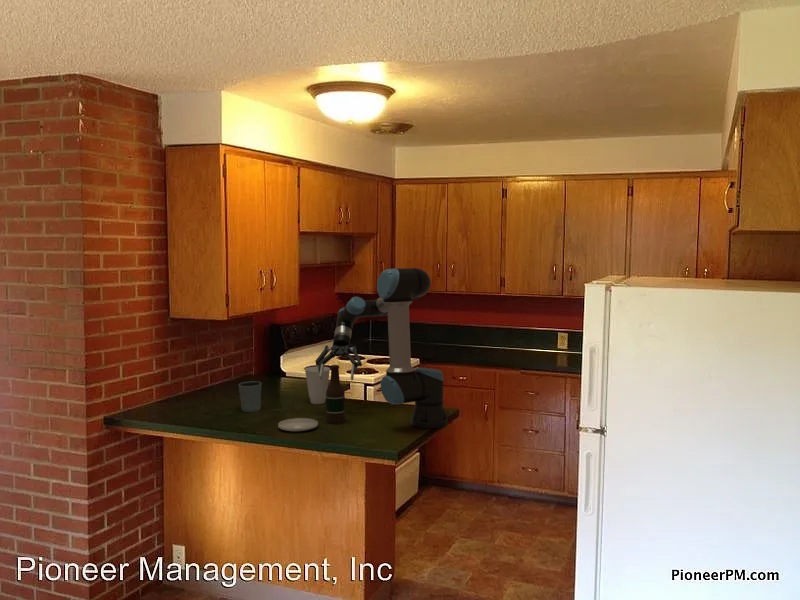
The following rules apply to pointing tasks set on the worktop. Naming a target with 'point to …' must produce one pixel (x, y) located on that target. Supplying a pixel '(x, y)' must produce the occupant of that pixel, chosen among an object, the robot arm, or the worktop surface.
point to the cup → (317, 384)
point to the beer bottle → (335, 399)
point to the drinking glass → (250, 396)
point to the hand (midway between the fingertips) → (336, 378)
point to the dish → (298, 424)
